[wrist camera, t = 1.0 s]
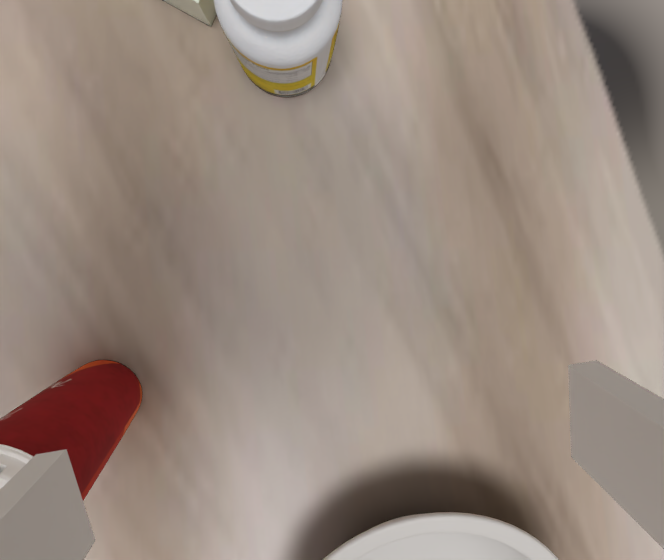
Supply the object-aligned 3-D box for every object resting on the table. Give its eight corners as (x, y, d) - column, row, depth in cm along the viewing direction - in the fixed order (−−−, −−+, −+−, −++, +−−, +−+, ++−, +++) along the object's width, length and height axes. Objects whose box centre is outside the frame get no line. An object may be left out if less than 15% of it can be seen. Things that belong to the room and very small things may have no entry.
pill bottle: (304, -21, 28) (306, -164, 17) (347, 72, 30) (376, -2, 18) (219, 26, 28) (164, -84, 17) (266, 116, 30) (244, 70, 18)
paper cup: (59, 338, 32) (-122, 448, 18) (162, 355, 33) (63, 472, 19) (51, 430, 33) (-122, 595, 20) (150, 444, 34) (49, 611, 21)
